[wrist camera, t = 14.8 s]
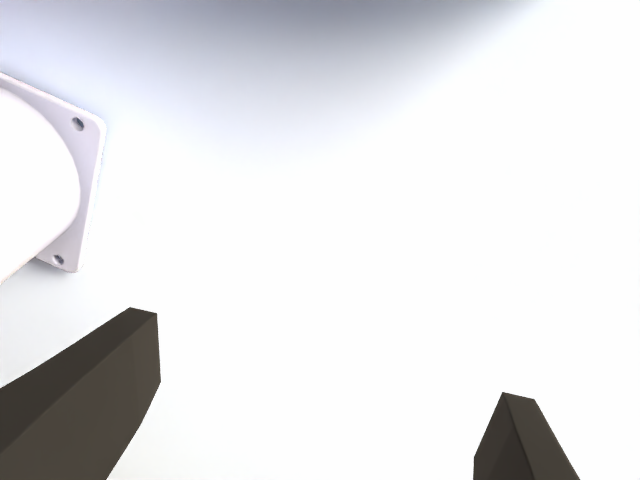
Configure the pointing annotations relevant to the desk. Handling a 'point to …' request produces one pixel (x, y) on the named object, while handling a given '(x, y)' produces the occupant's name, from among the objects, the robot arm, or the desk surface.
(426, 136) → the desk surface
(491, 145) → the desk surface
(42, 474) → the robot arm
